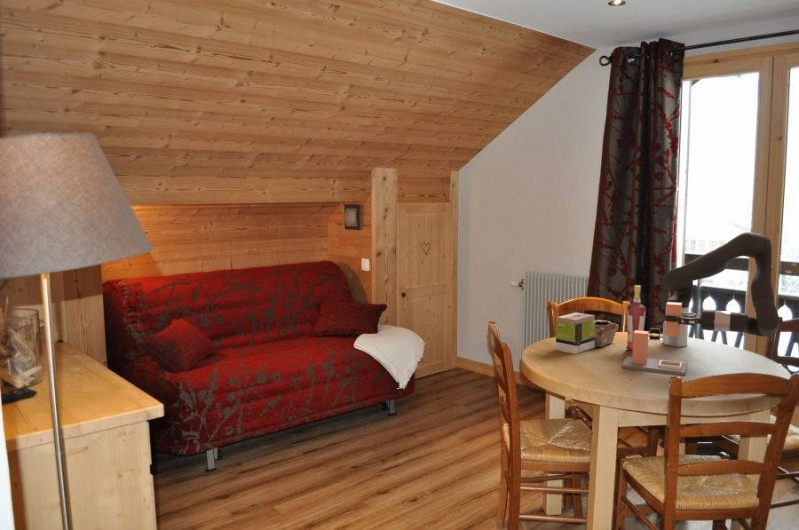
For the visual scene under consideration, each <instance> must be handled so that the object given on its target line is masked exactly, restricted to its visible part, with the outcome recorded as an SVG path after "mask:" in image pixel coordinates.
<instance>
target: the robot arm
mask: <svg viewBox="0 0 799 530" xmlns="http://www.w3.org/2000/svg"><path fill="white" fill-rule="evenodd" d="M772 248H773V247H772V241H771V239H770V238H769V237H768V236H766V235H764V234H761V233H756V232H751V231H746V232H745V231H744V232H741V233H739V234H738V235H736V236H735V237H733V238H732V239H730V240H729V241H727V242H726V243H725V244H723V245H720V246H719V247H717V248H715V249H713V250H711V251H709V252H706V253H704V254H702V255H700V256H699V257H697V258H696V259H693V260H691V261H689V262H688V263H686V264H684V265H682V266H679V267H675V268H673V269H670V270H668V271H666V273H665V274H664V275H663V276H662V285H663V287H664V289H666V290H667V291H671V292H674V293H673V294H672V295H671V296H670V297H668V298H667V299H666V303H665V308H666V307H667V302H675V303H682V312H681V316H670V315H666V314H665V317H664V318H665V319H664V321H663V322H662V323H663V324H662V325H663V326H662V337H663V340H662V343H664V344H665V345H666V346H671V347H678V348H680V347H687V346H688V335H689V334H688V333H689V332H688V330H689V326H693V327H694V326H696V325H700V326H701V327H700V329H701V330H702V331H713V332H734V333H745V334H748V335H752V336H757V337H764V338H765V337H772V336H774V335H775V334H777V332H778V331H779V330H778V329H779V327H780V316H779V314H778V308H777V306H776V304H775V303H776V302H775V297H774V296H775V295H774V289H773V283H772V281H773V280H772V260H773V259H772V258H773V257H772V255H773V254H772V253H773V252H772V250H773V249H772ZM740 257H746V258H752V259H754V261H755V265H756V271H755V274H754V276H753V279H752V280H751V284H750V294H751V295H750V296H751V301H752V305H753V306H752V307H753V308H754V309H755V317H754V316H749V315H748V314H747V313H743V312H732V311H726V310H718V309H717V310H715V309H714V310H713V309H702V310H701V314H697V312H690V303H691V301H692V298H693V297H692V295H693V289H694V288H693V287H694V281H699V280H704V279H707V278H711V277H714V276H716V275H718V274H720V273H722V272H724V271H725V270H726V269H727V268H728V266H729V263H730V261H732V260H734V259H736V258H740ZM666 321H669V322H676V323H678V324H681V334H680V337H678V336H666V335H665V331H666Z"/></svg>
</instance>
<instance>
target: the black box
mask: <svg viewBox="0 0 799 530" xmlns="http://www.w3.org/2000/svg"><path fill="white" fill-rule="evenodd" d="M653 334H654V335H653ZM655 334H657V335H655ZM661 334H662V332H661V330H660V328H659V327H656V328H655V327H650V329H649V336H648V340H659V341H660V340H661V341H663V336H661Z"/></svg>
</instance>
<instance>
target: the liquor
mask: <svg viewBox="0 0 799 530" xmlns="http://www.w3.org/2000/svg"><path fill="white" fill-rule="evenodd" d="M641 290H642V285H640V284H639V285H637V284H636V285H633V292H634V294H633V300H632V303H631V304H628V305H627V307H626V308H627V312H626V314H627V315H626V316H627V317H626V318H627V320H626V321H627V322H626V323H627V343H626V347H625V348H626V349H627V350H628V351H629V352H631V353H633V333H634V331H635V330H639V331H645V329H644V328H645V321H646V311H647V310H646V309H647V307H646V306H645V305H643V304H641Z"/></svg>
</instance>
